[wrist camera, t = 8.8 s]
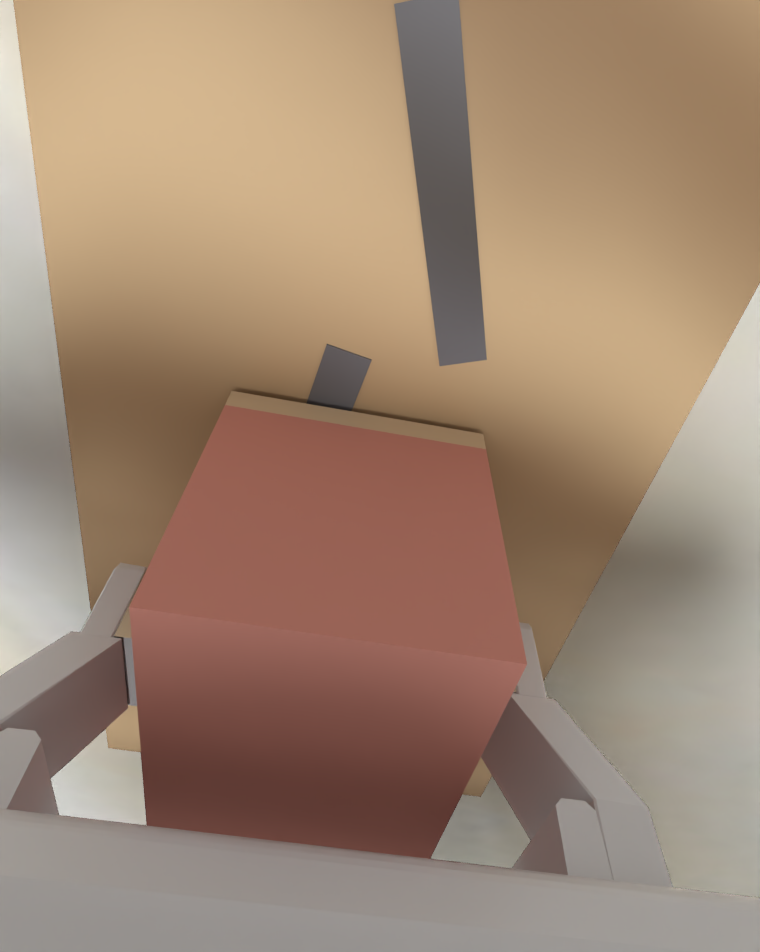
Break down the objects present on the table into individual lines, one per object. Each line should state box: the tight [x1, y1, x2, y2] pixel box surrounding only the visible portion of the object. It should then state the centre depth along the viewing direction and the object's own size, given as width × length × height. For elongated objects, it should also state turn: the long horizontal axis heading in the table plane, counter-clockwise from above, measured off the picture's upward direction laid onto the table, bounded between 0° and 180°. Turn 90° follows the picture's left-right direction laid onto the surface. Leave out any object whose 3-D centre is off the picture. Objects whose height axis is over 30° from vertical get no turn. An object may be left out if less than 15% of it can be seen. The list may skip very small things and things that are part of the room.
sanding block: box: [129, 391, 527, 859], centre depth 11 cm, size 7×4×5 cm, turn 170°
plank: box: [13, 0, 760, 797], centre depth 13 cm, size 22×11×2 cm, turn 170°
